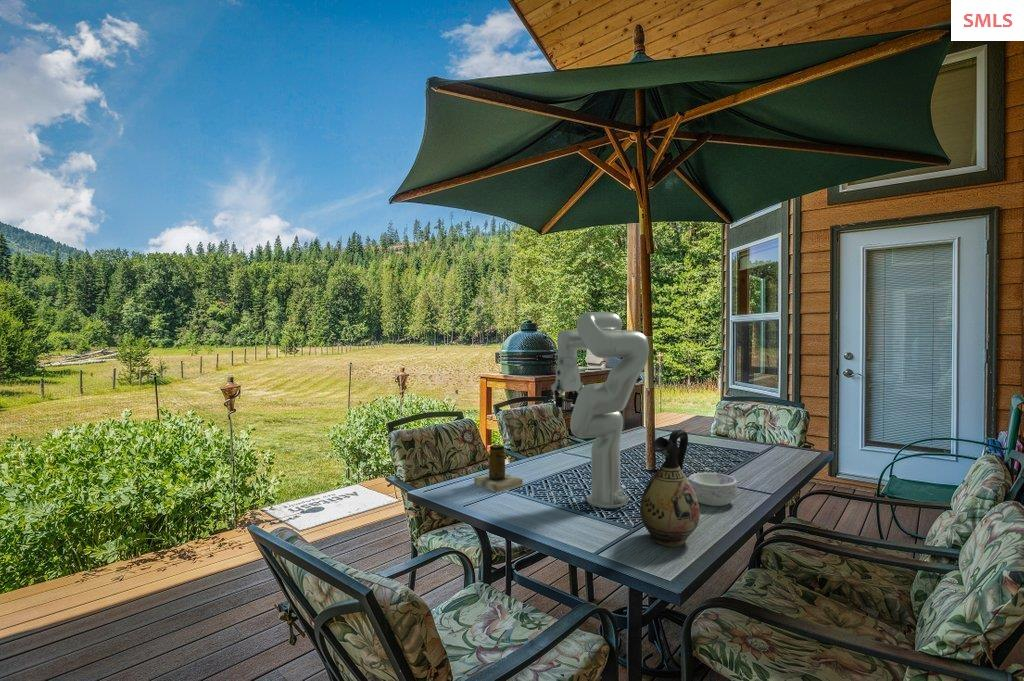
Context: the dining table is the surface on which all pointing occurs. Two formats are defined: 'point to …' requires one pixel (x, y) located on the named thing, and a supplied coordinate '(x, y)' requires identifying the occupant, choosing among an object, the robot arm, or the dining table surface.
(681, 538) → the ceramic jug
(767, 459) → the dining table surface
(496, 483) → the board
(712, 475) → the white marble bowl
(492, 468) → the condiment
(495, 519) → the dining table surface
